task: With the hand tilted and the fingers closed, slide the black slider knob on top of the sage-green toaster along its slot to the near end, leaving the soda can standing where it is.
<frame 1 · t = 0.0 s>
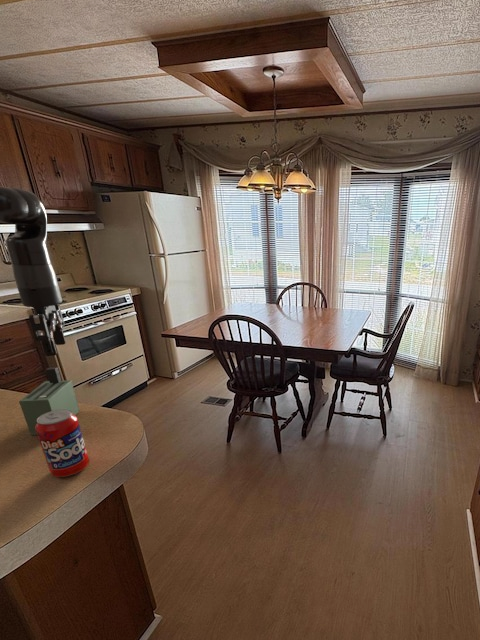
hand: (56, 349, 85), 26 cm above the table, tool pointing down, fingers open, 8 cm apart
soda can: (71, 469, 84), on the table
toaster: (57, 422, 102), on the table
slider: (53, 375, 102), point 14 cm above the table, slide at 0.0 cm
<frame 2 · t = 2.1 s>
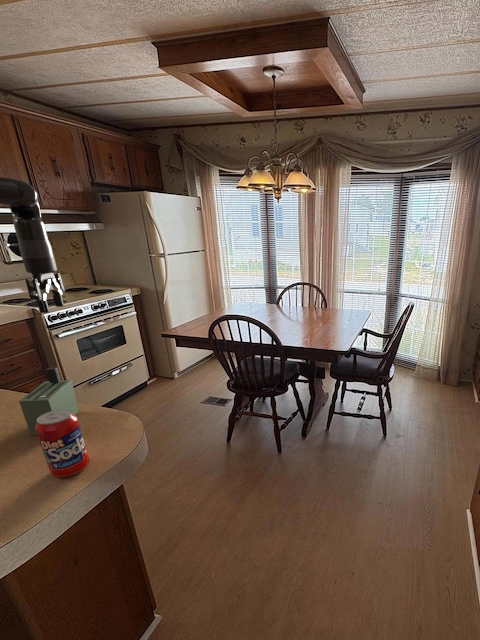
hand: (52, 309, 108), 30 cm above the table, tool pointing down, fingers open, 8 cm apart
nothing on the table moved.
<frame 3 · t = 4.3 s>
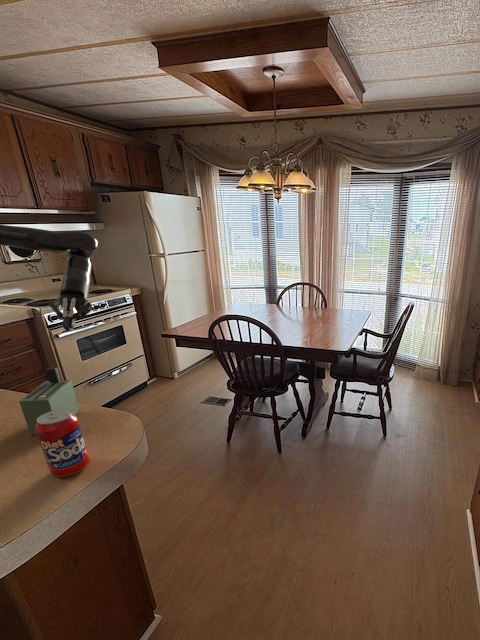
hand: (67, 329, 110), 24 cm above the table, tool tilted 45°, fingers closed
nothing on the table moved.
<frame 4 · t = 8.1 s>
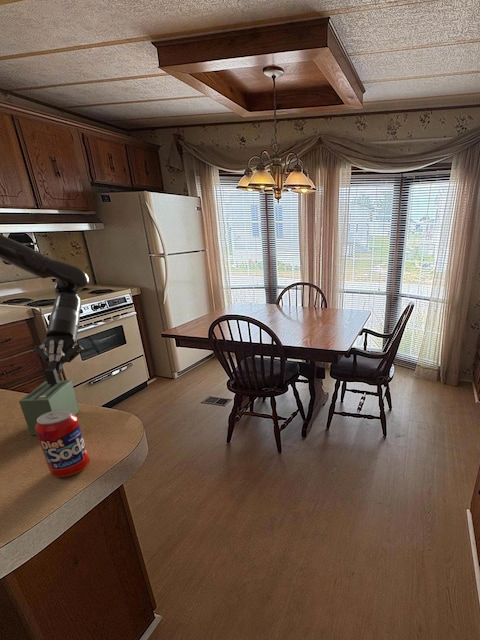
hand: (54, 374, 102), 13 cm above the table, tool tilted 45°, fingers closed
slider: (51, 376, 101), point 14 cm above the table, slide at 1.0 cm, touching gripper
everything else where it was.
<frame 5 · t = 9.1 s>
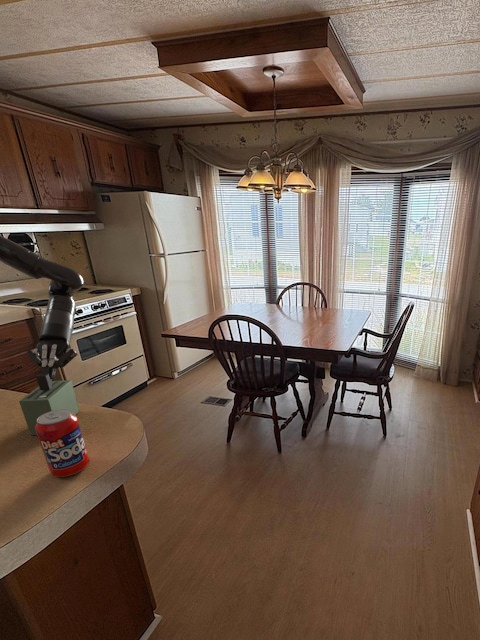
hand: (47, 380, 98), 13 cm above the table, tool tilted 45°, fingers closed
slider: (44, 382, 97), point 13 cm above the table, slide at 5.0 cm, touching gripper
everything else where it was.
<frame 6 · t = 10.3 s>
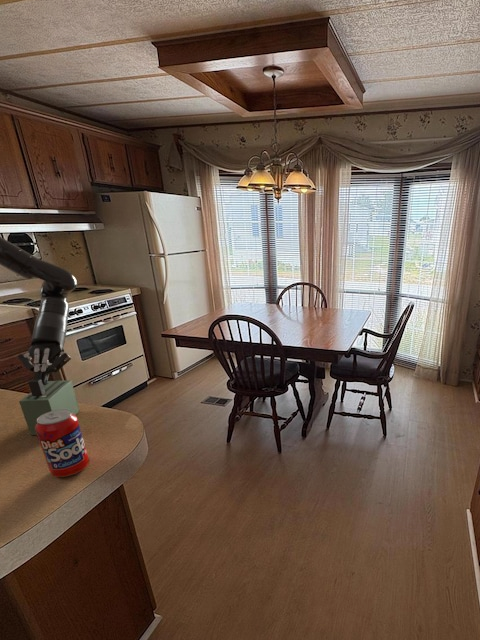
hand: (39, 385, 95), 13 cm above the table, tool tilted 45°, fingers closed
slider: (36, 387, 94), point 14 cm above the table, slide at 8.7 cm, touching gripper
everything else where it was.
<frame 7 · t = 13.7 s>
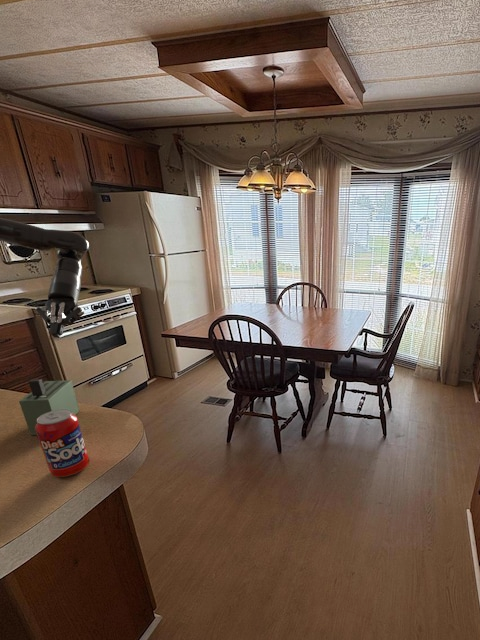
hand: (55, 335, 103), 24 cm above the table, tool tilted 45°, fingers closed
slider: (37, 387, 94), point 14 cm above the table, slide at 8.5 cm
everything else where it was.
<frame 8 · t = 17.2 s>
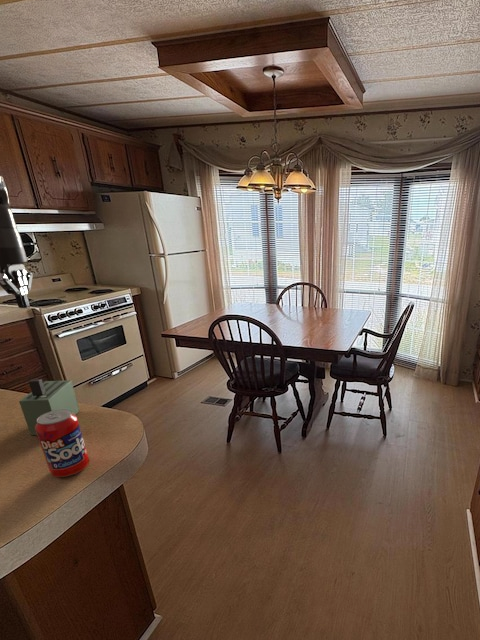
hand: (24, 307, 101), 32 cm above the table, tool pointing down, fingers closed
nothing on the table moved.
at the end: slider slide at 8.5 cm; soda can moved 0.2 cm from its start; soda can tilted 0° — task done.
